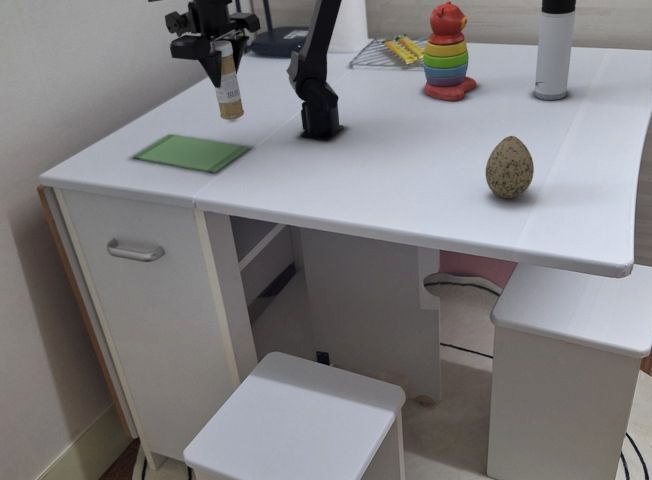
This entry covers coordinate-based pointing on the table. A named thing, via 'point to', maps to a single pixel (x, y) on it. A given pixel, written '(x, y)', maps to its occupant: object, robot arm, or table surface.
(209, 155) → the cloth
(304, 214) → the table surface
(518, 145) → the decorative egg
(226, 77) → the sprinkles bottle
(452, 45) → the stacking bear
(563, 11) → the travel mug
